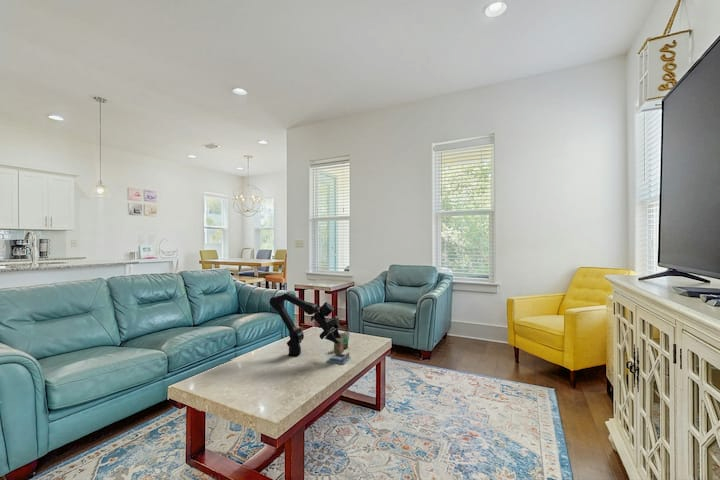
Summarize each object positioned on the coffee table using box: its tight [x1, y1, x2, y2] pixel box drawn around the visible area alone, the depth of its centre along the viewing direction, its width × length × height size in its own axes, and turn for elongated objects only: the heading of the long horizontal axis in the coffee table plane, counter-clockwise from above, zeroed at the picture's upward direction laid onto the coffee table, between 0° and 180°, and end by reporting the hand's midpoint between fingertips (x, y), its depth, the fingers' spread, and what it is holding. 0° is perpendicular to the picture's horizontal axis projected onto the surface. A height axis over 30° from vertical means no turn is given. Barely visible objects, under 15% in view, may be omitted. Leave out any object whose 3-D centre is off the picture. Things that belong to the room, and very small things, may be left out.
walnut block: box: [333, 338, 344, 355], centre depth 194 cm, size 4×5×8 cm
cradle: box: [326, 352, 352, 365], centre depth 194 cm, size 11×11×3 cm
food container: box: [339, 330, 351, 351], centre depth 215 cm, size 12×6×10 cm, turn 143°
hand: (339, 341), depth 194 cm, fingers closed on walnut block, 5 cm apart
